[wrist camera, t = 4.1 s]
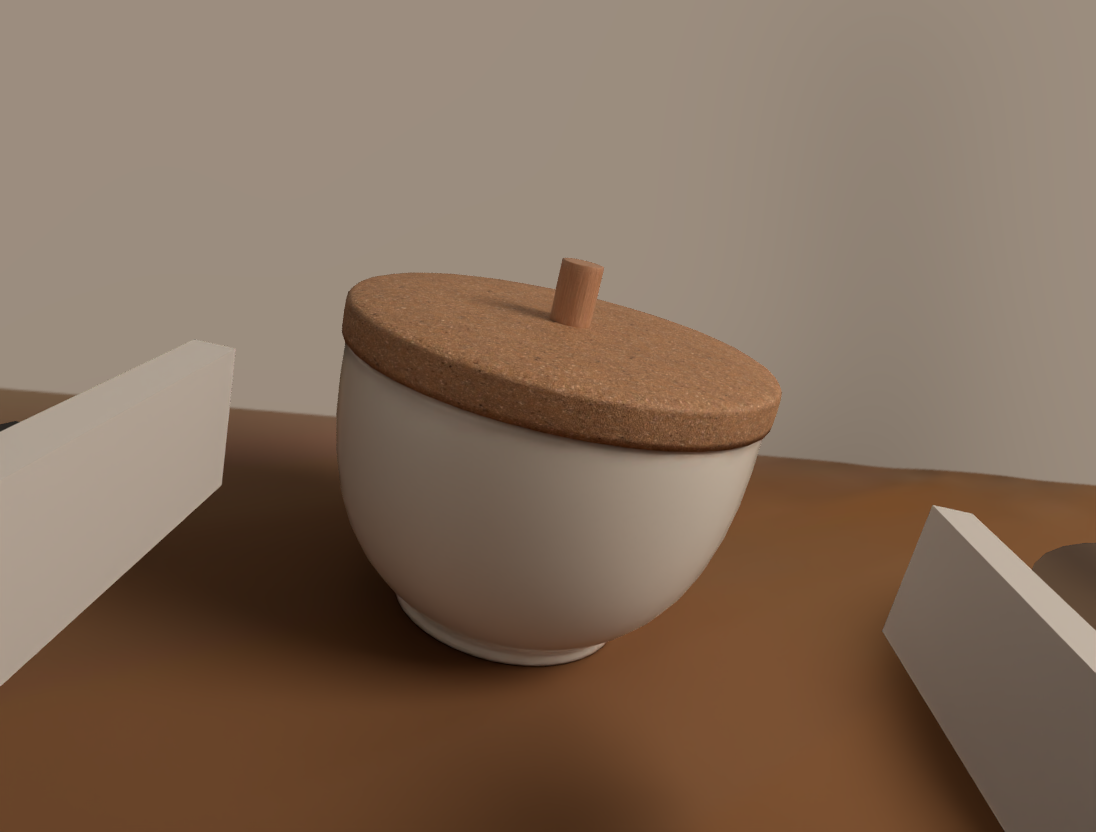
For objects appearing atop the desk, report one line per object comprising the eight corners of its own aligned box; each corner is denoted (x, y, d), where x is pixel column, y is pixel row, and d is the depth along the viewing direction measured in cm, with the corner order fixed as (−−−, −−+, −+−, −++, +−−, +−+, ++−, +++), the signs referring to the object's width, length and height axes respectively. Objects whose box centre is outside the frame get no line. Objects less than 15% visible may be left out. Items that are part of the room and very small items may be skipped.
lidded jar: (530, 491, 30) (590, 234, 27) (773, 659, 23) (890, 333, 20) (237, 535, 23) (276, 191, 20) (458, 802, 16) (570, 323, 13)
